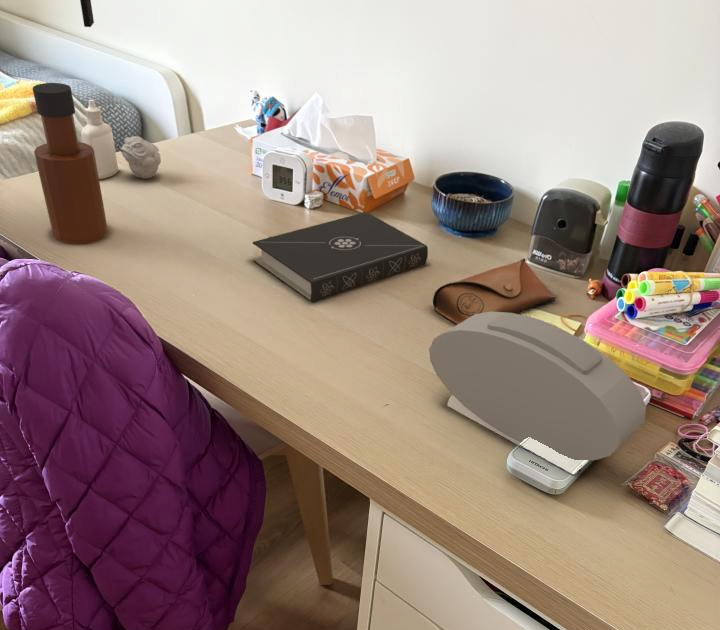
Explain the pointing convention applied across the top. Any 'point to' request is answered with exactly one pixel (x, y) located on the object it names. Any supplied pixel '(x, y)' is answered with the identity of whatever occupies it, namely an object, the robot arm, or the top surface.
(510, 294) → the sunglasses case
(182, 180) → the top surface
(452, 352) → the alarm clock
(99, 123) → the eye dropper bottle
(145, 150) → the frog figurine
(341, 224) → the book
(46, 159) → the brown bottle
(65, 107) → the bung
